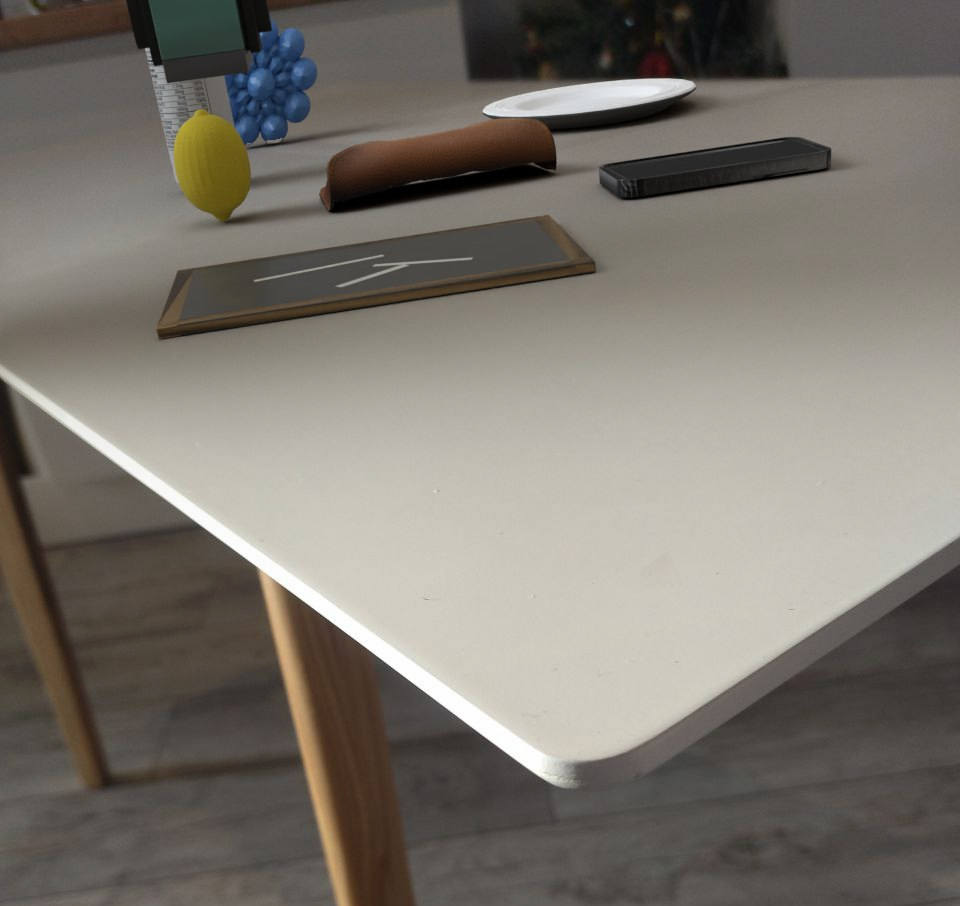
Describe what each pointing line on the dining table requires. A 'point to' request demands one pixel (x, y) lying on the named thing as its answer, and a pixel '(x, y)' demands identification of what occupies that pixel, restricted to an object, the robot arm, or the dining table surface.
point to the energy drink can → (187, 101)
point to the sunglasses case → (437, 157)
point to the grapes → (272, 87)
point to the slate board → (369, 275)
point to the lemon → (212, 164)
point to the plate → (593, 102)
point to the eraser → (200, 38)
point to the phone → (713, 166)
